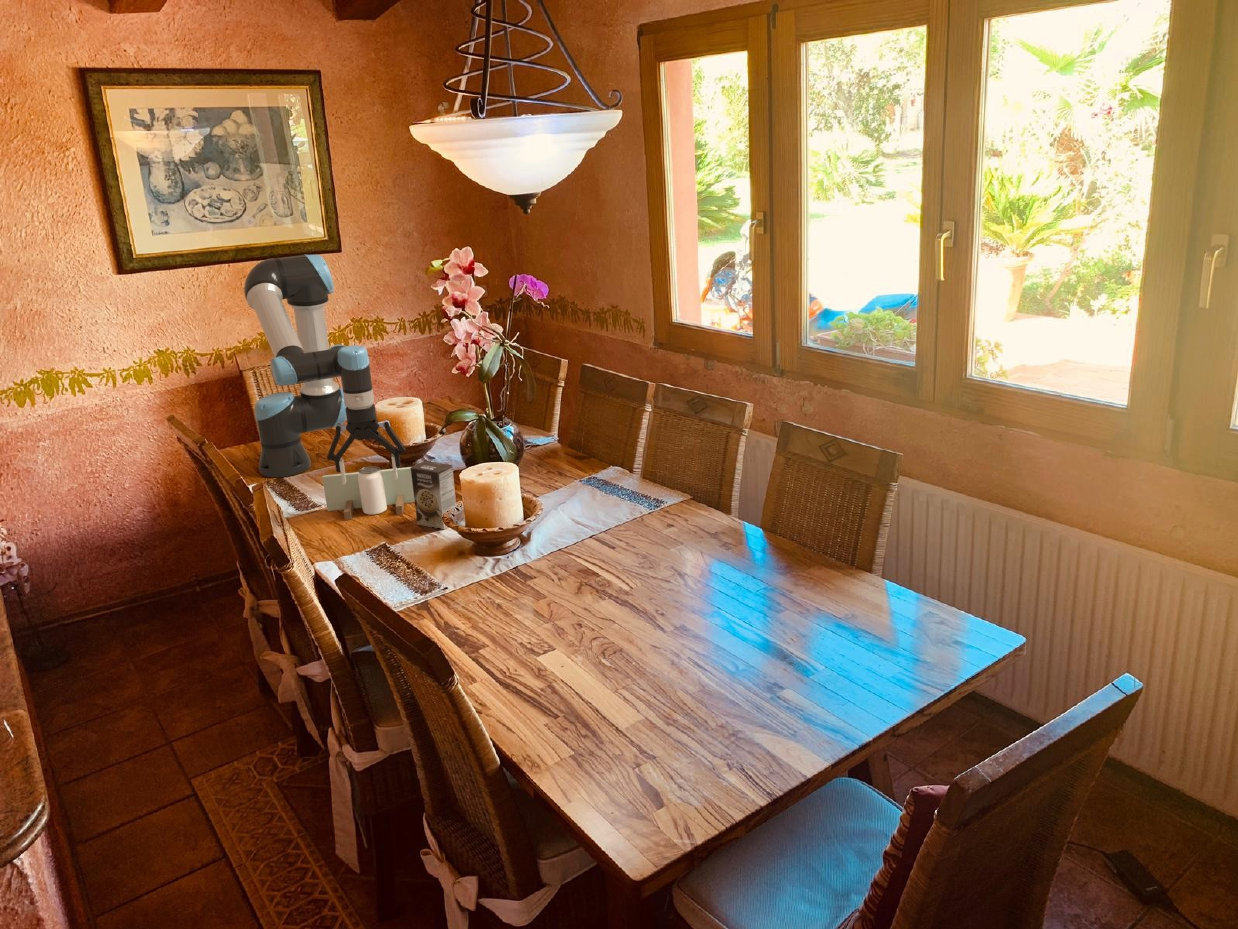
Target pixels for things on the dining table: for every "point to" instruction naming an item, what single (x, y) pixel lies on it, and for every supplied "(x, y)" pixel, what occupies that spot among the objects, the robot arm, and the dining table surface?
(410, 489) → the wall board
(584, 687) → the dining table surface
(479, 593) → the dining table surface
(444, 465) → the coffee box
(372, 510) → the can
